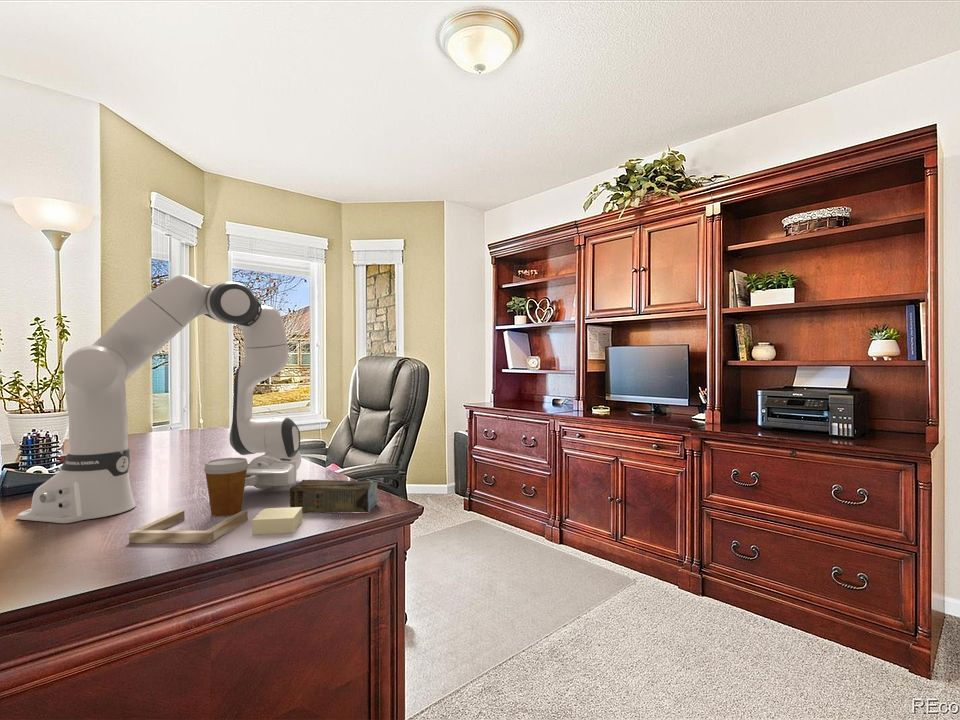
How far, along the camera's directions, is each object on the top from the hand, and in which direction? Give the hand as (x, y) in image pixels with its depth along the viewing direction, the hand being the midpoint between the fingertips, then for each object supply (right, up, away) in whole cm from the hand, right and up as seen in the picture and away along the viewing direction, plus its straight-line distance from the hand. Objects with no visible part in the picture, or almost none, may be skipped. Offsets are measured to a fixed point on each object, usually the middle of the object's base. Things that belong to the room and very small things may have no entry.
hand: (238, 483), depth 122 cm
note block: (+16, -5, -16) cm, 24 cm away
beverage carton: (+24, -6, -2) cm, 25 cm away
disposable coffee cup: (0, -6, -5) cm, 8 cm away
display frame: (-1, -5, -17) cm, 18 cm away
